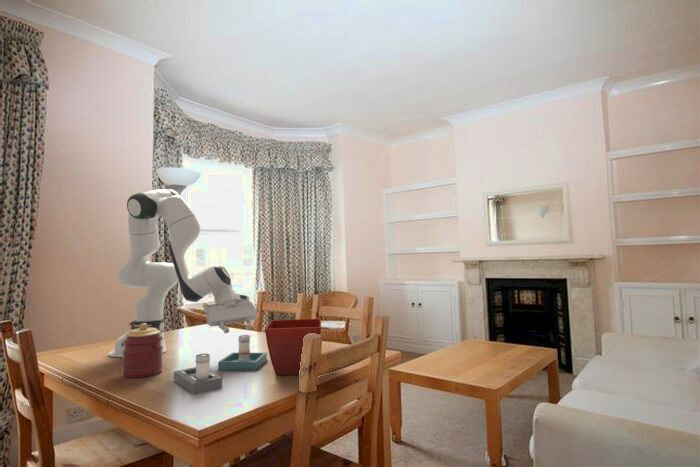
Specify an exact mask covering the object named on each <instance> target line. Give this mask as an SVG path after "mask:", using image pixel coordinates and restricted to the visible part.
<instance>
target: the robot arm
mask: <svg viewBox="0 0 700 467" xmlns="http://www.w3.org/2000/svg"><path fill="white" fill-rule="evenodd" d="M126 209H127V211H128V216H127V217H128V220H127V221H128V223H127V225H128V234H129V235H128V236H129V241H130V242H129V243H130V254H129V258H128V259H127V261H126V263H125V264H123V265H122V266H121V268H120V269H119V271H118V275H117V276H118V280H119V282H120V284H121V285H123V286H125V287H128V288H137V289H139V288H141V289H142V288H147V291H146V294H145V295H143V296H142V297H139V298H138V299H137V300H136V302H135V304H134V320H132V321H131V322H129V323H127V324H128V325H127V326H128V327H130V329H129V330H128V331H126V332H125V333H124V334H122V335H121V336H120V337H118V339H117V340H116V341H115V344H114V349H113V350H111V351H109V353H108V354H107V356H108V357H114V358H123V352H122V351H123V350H124V344H123V340H125V339H126V337H127V336H125V334H126V333H128V332H130V330H133V329H138V328H139V326H140V324H142V323H146V324H147V326H148V327H147V328H156V329H158V330H160V331H161V333H159V334H160V336H162V337H163V340H162V341H161V342H162V346H163V349H162V354H164V353H166V352H167V347H166V343H165V338H164V337H165V336H164V331H165V318H164V307H165V300H166V297H167V295H168V293H169V291H171V290H172V288H173V287H175V286H176V285H177V284H179V288H180V291H181V295H182V296H183V298H184V299H185V300H186V301H187V302H192V303H196V302H199V301H201V300H202V299H204V298H205V297H206V296H208V295H210V294H211V295H212V296H213V300H214V303H213V304H207V305H206V306H204V308H203V312H204V314H205V315H206V317H205V318H206V321H207V325H208V327H209V326H210V327H217V326H218V328H219V329H220V330H222V331H223V333H224V334H228V333H229V332H230V329H229V326H226V325H229V324H230V325H231V324H236V323H242V322H245V323H247V324H246V325H245V329H246V330H251V329H252V325H251V324H252V323H251V322H252V321H255V320H256V318H257V316H258V310H257V309H256V306H255V304H254V303H253V302H252V301H250V296H249V295H246V294H240V293H237V292H235V290H234V289H233V284H232V279H231V277H230V274H229V273H228V270H227V269H226V268H225V267H224V266H221V264H220V265H219V264H213V265H210V266H208V267H207V268H204V269H203V270H201V271H199V272H197V273H195V274H193V275H190V273H189V269H188V267H187V266H188V265H187V264H186V261H185V253H186V251H187V250H188V249H189V247H190V246H192V244H193V243H194V242H195V241H196V240H197V239H198V237H199V234H200V231H201V226H200V223H199V221H198V218H197V217H196V215H195V213H194V212H193V210H192V208H191V207H190V206H189V204H188V203H187V202H186V200H185V199H184V198H183V197H181V195H179V193H178V192H177V191H175V190H173V189H170V188H163V189H151V190H148V191H144V192H137V193H135V194H132V195H130V197H128V199H127V201H126ZM159 217H161V218H163V219H164V221H165V223H166V225H167V228H168V229H169V230H170V232H169V233H170V241H169V243H168V250H169V254H170V258H171V261H172V262H171V263H170V262H164V261H162V262H161V261H158V262H157V261H155V262H151V260H150V259H151V256H152V255H153V254H155V253H157V252H158V251H159V249H160V247H161V244H160V243H161V242H160V234H159V228H158V218H159Z"/></svg>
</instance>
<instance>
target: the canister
mask: <svg viewBox="0 0 700 467" xmlns="http://www.w3.org/2000/svg"><path fill="white" fill-rule="evenodd" d="M147 327H148V326H147V324H146V323H142V324H140V326H139V328H138V329H133V330H130V329H129V330H130V332H128V331H127V332H128V333H126V332H125V333H126V334H125V333H124V334H125V336H127V337H126V339H125V340H123V344H124V350H123V351H122V352H123V357H122V367H121V373H122V376H123V377H124V378H129V379H134V378H135V379H136V378H145V377H151V376H154V375H158V374H160V373H161V372H162V371H163V366H164V365H163V364H164V363H163V353H162V349H163V346H162V342H161V341H162V340H163V337H162V336H160V334H159V333H161V331H160V330H158V329H156V328H147Z"/></svg>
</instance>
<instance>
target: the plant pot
mask: <svg viewBox="0 0 700 467" xmlns="http://www.w3.org/2000/svg"><path fill="white" fill-rule="evenodd" d="M264 332H265V338H266V344H267V350H268V354H269V357H270V363H271V365H272V368H273V371H274V374H275V375H276V376H291V375H292V376H294V375H295V376H296V375H299V370H300V362H301V354H302V347H303V338H304V336H305V335H306V334H308V333H316V334H321V333H322V319H321V318H301V319H298V318H297V319H295V318H294V319H275V320H274V319H273V320H270V322H268V324H267V325H266V326H265V327H264ZM321 335H322V334H321Z"/></svg>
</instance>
